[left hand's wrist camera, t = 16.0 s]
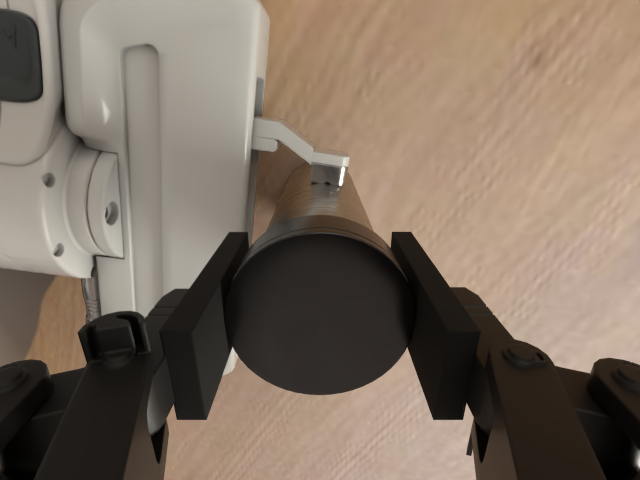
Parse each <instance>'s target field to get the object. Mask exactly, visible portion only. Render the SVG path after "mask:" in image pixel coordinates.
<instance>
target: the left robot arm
mask: <svg viewBox="0 0 640 480" xmlns="http://www.w3.org/2000/svg"><path fill="white" fill-rule="evenodd" d="M248 250H249V240H248V232H229V233H228V234H227V236H226V237H225V239H224V240H223V241H222V243H221V244H220V246H219V247H218V248H217V250H216V251H215V253H214V254H213V255H212V257H211V258H210V260H209V261H208V263H207V264H206V265H205V267H204V268H203V270H202V271H201V272H200V274H199V275H198V277H197V278H196V280H195V281H194V282H193V284H192V285H191V287H190V288H189V289H174V290H172V291H170V292H169V293H167V294H166V295H164V296H162V297H161V299H160V300H159V301H158V302H157V303H156V305H155V306H154V308H152V310H151V311H150V312H149V313H148V316H146V317H145V318H144V316H143V315H141V314H140V313H139V312H134V311H118V312H113V313H109V314H105V315H103V316H100V317H98V318H95V319H93V320H92V321H90V322H89V323H87V324H86V325H84V326H83V327H82V328H81V329H80V331H79V332H78V335H79V338H80V342H81V345H82V348H83V351H84V355H85V358H86V361H87V364H86V366H85V367H84V368H81V369H77V370H72V371H67V372H62V373H58V374H53V375H50V373H49V371H48V368H47V365H46V364H45V363H43V362H42V361H40V360H24V361H18V362H14V363H11V364H7V365H4V366H2V367H0V480H164V472H165V463H166V454H167V445H168V436H169V430H168V424H167V420H166V418H167V416H168V414H169V412H170V410H171V408H172V406H173V404H174V407H175V412H176V417H177V420H207V417H208V414H209V411H210V409H211V406H212V403H213V400H214V397H215V395H216V392H217V389H218V386H219V384H220V381H221V378H222V375H223V372H224V370H225V367H226V364H227V361H228V358H229V356H230V353H231V350H232V345H231V343H230V340H229V337H228V335H227V332H226V327H225V321H224V306H225V299H226V295H227V292H228V288H229V286H230V284H231V282H232V280H233V278H234V276H235V274H236V272H237V270H238V268H239V266H240V264H241V262H242V260H243V257H244V256H245V254H246V253H247V251H248ZM391 250H392V251H393V253H394V254H395V256H396V258H397V260H398V262H399V264H400V266H401V268H402V270H403V272H404V274H405V276H406V278H407V280H408V282H409V284H410V287H411V289H412V292H413V296H414V300H415V308H416V319H415V326H414V331H413V334H412V337H411V340H410V343H409V344H408V346H407V347H408V350H409V353H410V356H411V359H412V361H413V364H414V367H415V370H416V372H417V375H418V378H419V381H420V384H421V386H422V389H423V392H424V395H425V398H426V400H427V403H428V406H429V409H430V412H431V414H432V417H433V420H463V417H464V412H465V407H466V402H467V404H468V406H469V408H470V410H471V412H472V414H473V416H474V420H473V424H472V429H471V433H470V438H469V442H468V447H467V454H466V455H470V456H471V454H472V450H473V453H474V462H475V471H476V479H477V480H640V365H638V364H635V363H633V362H632V363H631V362H629V361H625V360H620V359H613V358H605V359H599V360H598V361H596V362H595V363H594V365H593V368H592V370H591V373H585V372H580V371H576V370H571V369H566V368H561V367H558V366H554V364H553V362H552V361H551V359H550V358H549V357H548V355H547V354H545V353H544V352H543V351H541V350H540V349H539V348H537V347H535V346H533V345H530V344H528V343H526V342H522V341H518V340H515V339H513V337H512V336H511V335H510V334H509V332H508V331H507V330H506V329H505V328H504V326H503V325H502V324H501V323H500V322H499V320H498V319H497V318H496V317H495V315H493V314H492V312H491V311H490V309H489V308H488V307H486V304H485V303H484V302H483V301H482V300H481V298H480V297H479V296H478V295H476V294H475V293H473V292H472V291H470V290H468V289H467V288H465V287H449V285H448V284H447V282H446V281H445V280H444V278H443V277H442V275H441V274H440V273H439V271H438V270H437V268H436V267H435V265H434V264H433V263H432V261H431V260H430V258H429V257H428V256H427V254H426V253H425V251H424V250H423V248H422V247H421V246H420V244H419V243H418V241H417V240H416V239H415V237H414V236H413V234H412V233H411V232H392V239H391Z"/></svg>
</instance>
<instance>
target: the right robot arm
mask: <svg viewBox="0 0 640 480" xmlns="http://www.w3.org/2000/svg"><path fill="white" fill-rule="evenodd" d="M269 32H270V20H269V17H268V14H267V12H266V10H265V9H264V7H263V5H262V3H261V2H260V0H0V268H6V269H13V270H21V271H29V272H37V273H46V274H53V275H61V276H68V277H76V278H81V283H82V291H83V297H84V300H85V303H86V309H87V315H86V324H87V323H89V322H90V321H92V320H93V319H95V318H98V317H100V316H103V315H105V314H109V313H113V312H118V311H134V312H139V313H140V314H141V315H143V316H144V318H145V317H146V316H148V313H149V312H150V311H151V310H152V308H154V306H155V305H156V303H157V302H158V301H159V300H160V299H161V297H162V296H164V295H166V294H167V293H169V292H170V291H172V290H174V289H189V288H190V287H191V285H192V284H193V282H194V281H195V280H196V278H197V277H198V275H199V274H200V272H201V271H202V270H203V268H204V267H205V265H206V264H207V263H208V261H209V260H210V258H211V257H212V255H213V254H214V253H215V251H216V250H217V248H218V247H219V246H220V244H221V243H222V241H223V240H224V239H225V237H226V236H227V234H228V233H229V232H248V240H249V248H250V247H251V245H252V233H253V222H254V210H255V198H256V186H257V174H258V163H259V151H260V150H262V151H269V152H275V151H276V150H277V149H278V148H279V147H280V146H281V142H282V143H283V144H284V145H286V146H287V147H288V148H290V149H291V150H292V151H293V152H295V153H296V154H297V155H299V156H300V157H301V158H303V159H304V160H305V161H306V162H308V163H309V164H310V165H311V163H312V167H311V175H310V182H316V183H325V182H327V181H328V182H329V183H330V184H332V185H336V186H344V185H345V180H346V175H347V170H348V164H349V158H350V156H349V154H348V153H345V152H341V151H335V150H329V149H322V148H316V147H314V144H313V143H312V142H310V141H309V140H308V139H307V138H305V137H304V136H303V135H302V134H301V133H299V132H298V131H297V130H296V129H294V128H293V127H292V126H291V125H290V124H288V123H287V122H286V121H285V120H280V119H274V118H268V117H262V115H263V104H264V92H265V80H266V68H267V56H268V45H269ZM237 359H238V355H237V353H236V352H235V350H234V349H233V347H232V350H231V353H230V356H229V358H228V361H227V364H226V367H225V370H224V372H223V375H226V374H228V373H230V372H231V371H232V370H233V369H234V367H235V365H236V362H237ZM223 375H222V376H223Z"/></svg>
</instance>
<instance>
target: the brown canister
mask: <svg viewBox="0 0 640 480" xmlns="http://www.w3.org/2000/svg"><path fill="white" fill-rule="evenodd" d="M311 167H312V163H311V165H310V164H309V163H308V162H306V163H304V164H302V165H300V166H299V167H298V168H296V169H295V170H294V171H293V173H292V174H291V175H290V177H289V179H288V181H287V183H286V186H285V188H284V190H283V193H282V195H281V197H280V200H279V202H278V205H277V207H276V209H275V212H274V214H273V217H272V219H271V221H270V224H269V226H268V228H267V231H268V230H270V229H271V228H273V227H275V226H276V225H279V224H281V223H283V222H285V221H288V220H291V219H294V218H298V217H303V216H309V215H330V216H337V217H342V218H346V219H349V220H352V221H355V222H357V223H359V224H361V225H363V226H365V227H367V228H369V229H370V230H372V231H373V228H372V226H371V224H370V221H369V219H368V217H367V214H366V212H365V209H364V207H363V205H362V202H361V200H360V197H359V195H358V193H357V190H356V188H355V186H354V183H353V181H352V179H351V177H350V175H349V174H348V173H347V175H346V180H345V185H344V186H336V185H332V184H330V183H329V182H328V181H327V182H325V183H316V182H310V175H311ZM267 231H266V232H267ZM373 232H374V231H373Z"/></svg>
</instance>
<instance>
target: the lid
mask: <svg viewBox="0 0 640 480" xmlns="http://www.w3.org/2000/svg"><path fill="white" fill-rule="evenodd" d="M415 319H416V308H415V300H414V296H413V292H412V289H411V287H410V284H409V282H408V280H407V278H406V276H405V274H404V272H403V270H402V268H401V266H400V264H399V262H398V260H397V258H396V256H395V254H394V253H393V251H392V250H391V248H390V247H389V246H388V245H387V244H386V242H385V241H384V240H383V239H382V238H380V237H379V236H378V235H377V234H376V233H375V232H373V231H372V230H370V229H369V228H367V227H365V226H363V225H361V224H359V223H357V222H355V221H352V220H349V219H346V218H342V217H337V216H330V215H309V216H303V217H298V218H294V219H291V220H288V221H285V222H283V223H281V224H279V225H276V226H275V227H273V228H271V229H270V230H268V231H267V232H265V233H264V234H263V235H262V236H261V237H259V238H258V239H257V240H256V241H255V242H254V243H253V245H252V246H251V247H250V248H249V250H248V251H247V253H246V254H245V256H244V257H243V260H242V262H241V264H240V266H239V268H238V270H237V272H236V274H235V276H234V278H233V280H232V282H231V284H230V286H229V288H228V292H227V295H226V299H225V306H224V321H225V327H226V332H227V335H228V337H229V340H230V343H231V345H232V347H233V349H234V350H235V352H236V353H237V355H238V356H239V358H240V359H241V360H242V361H243V362H244V364H245V365H246V366H247V367H248V368H249V369H250V370H252V371H253V372H254V373H255V374H256V375H258V376H259V377H261V378H262V379H264V380H265V381H267V382H269V383H271V384H273V385H275V386H278V387H280V388H283V389H285V390H289V391H293V392H297V393H303V394H311V395H330V394H337V393H343V392H347V391H351V390H354V389H357V388H360V387H362V386H365V385H367V384H369V383H371V382H373V381H374V380H376V379H377V378H379V377H381V376H382V375H383V374H385V373H386V372H387V371H388V370H390V369H391V368H392V367H393V366H394V365H395V363H396V362H397V361H398V360H399V359H400V357H401V356H402V355H403V353H404V352H405V350H406V348H407V346H408V344H409V343H410V340H411V337H412V334H413V331H414V326H415Z"/></svg>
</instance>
